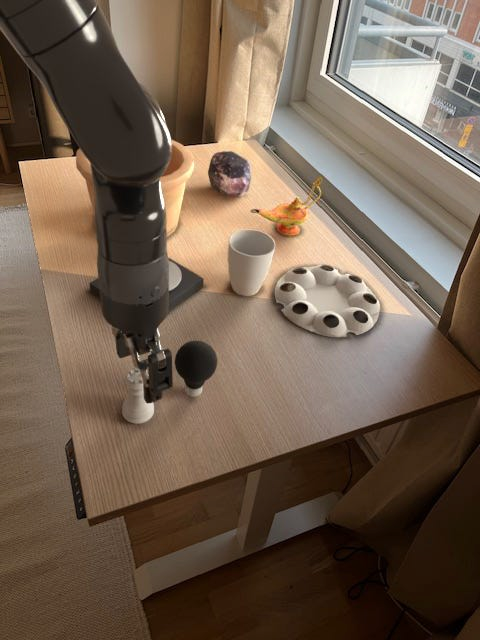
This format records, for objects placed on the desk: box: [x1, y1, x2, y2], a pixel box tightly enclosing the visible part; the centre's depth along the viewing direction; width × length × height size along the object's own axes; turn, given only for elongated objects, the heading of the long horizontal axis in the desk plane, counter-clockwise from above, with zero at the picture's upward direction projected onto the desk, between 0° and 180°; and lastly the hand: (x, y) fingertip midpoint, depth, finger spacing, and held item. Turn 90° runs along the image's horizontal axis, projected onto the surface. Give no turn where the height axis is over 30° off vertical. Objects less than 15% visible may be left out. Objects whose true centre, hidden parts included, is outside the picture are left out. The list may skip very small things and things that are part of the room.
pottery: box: [75, 139, 195, 238], centre depth 103 cm, size 22×22×14 cm
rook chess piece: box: [121, 368, 155, 424], centre depth 70 cm, size 4×4×8 cm
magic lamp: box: [250, 176, 323, 236], centre depth 107 cm, size 7×18×11 cm, turn 122°
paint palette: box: [274, 264, 381, 338], centre depth 95 cm, size 20×20×2 cm
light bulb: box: [174, 339, 218, 398], centre depth 73 cm, size 6×6×10 cm
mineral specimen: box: [207, 150, 252, 198], centre depth 117 cm, size 10×10×10 cm
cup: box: [227, 228, 276, 297], centre depth 92 cm, size 8×8×10 cm
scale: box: [89, 257, 205, 312], centre depth 91 cm, size 15×13×3 cm
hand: (138, 376), depth 67 cm, fingers open, 8 cm apart
